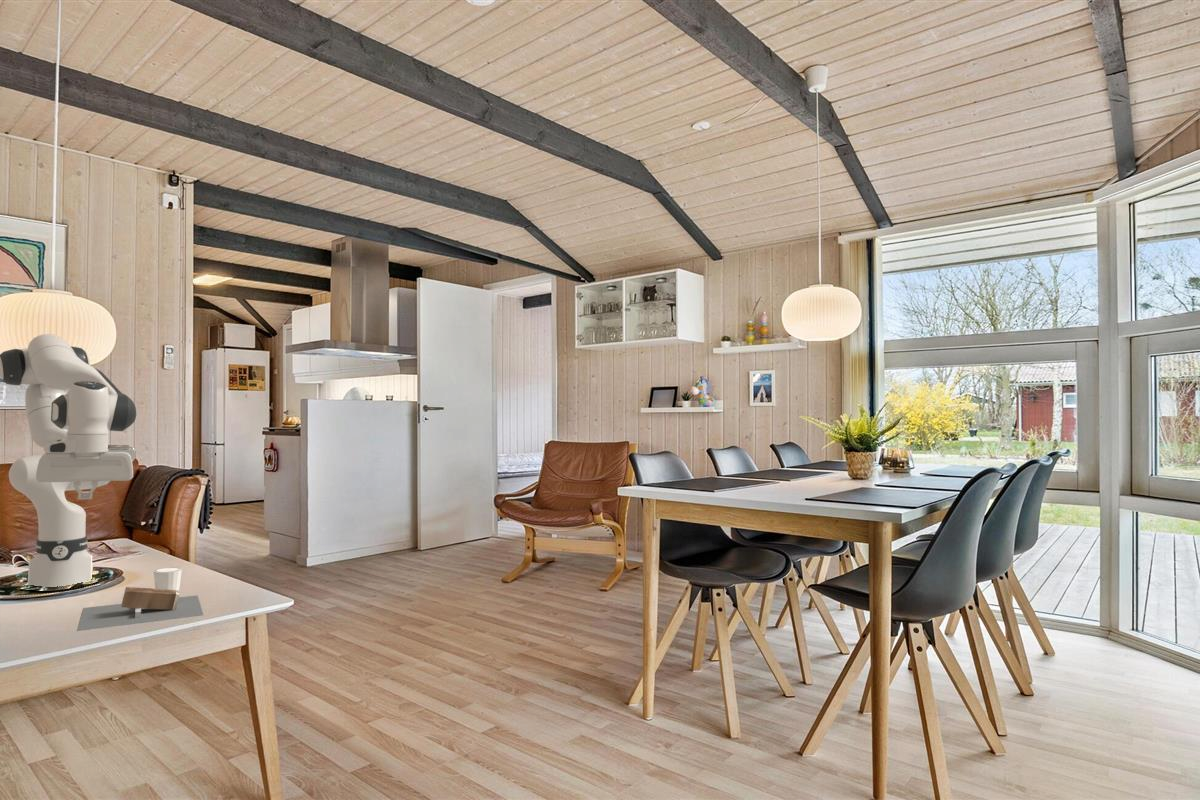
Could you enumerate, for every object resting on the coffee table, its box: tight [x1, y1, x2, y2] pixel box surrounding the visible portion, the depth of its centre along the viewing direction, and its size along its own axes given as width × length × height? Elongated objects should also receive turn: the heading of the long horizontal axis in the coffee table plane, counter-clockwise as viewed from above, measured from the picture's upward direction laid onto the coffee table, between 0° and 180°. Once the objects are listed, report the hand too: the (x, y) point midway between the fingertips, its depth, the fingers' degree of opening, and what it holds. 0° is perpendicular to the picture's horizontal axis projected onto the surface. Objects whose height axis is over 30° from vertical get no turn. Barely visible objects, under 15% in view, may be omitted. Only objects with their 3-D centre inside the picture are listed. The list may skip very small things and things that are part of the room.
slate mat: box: [76, 594, 204, 632], centre depth 183 cm, size 22×26×2 cm
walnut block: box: [121, 586, 180, 610], centre depth 184 cm, size 5×4×12 cm
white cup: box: [153, 566, 183, 591], centre depth 202 cm, size 7×7×7 cm
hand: (85, 499), depth 182 cm, fingers closed
